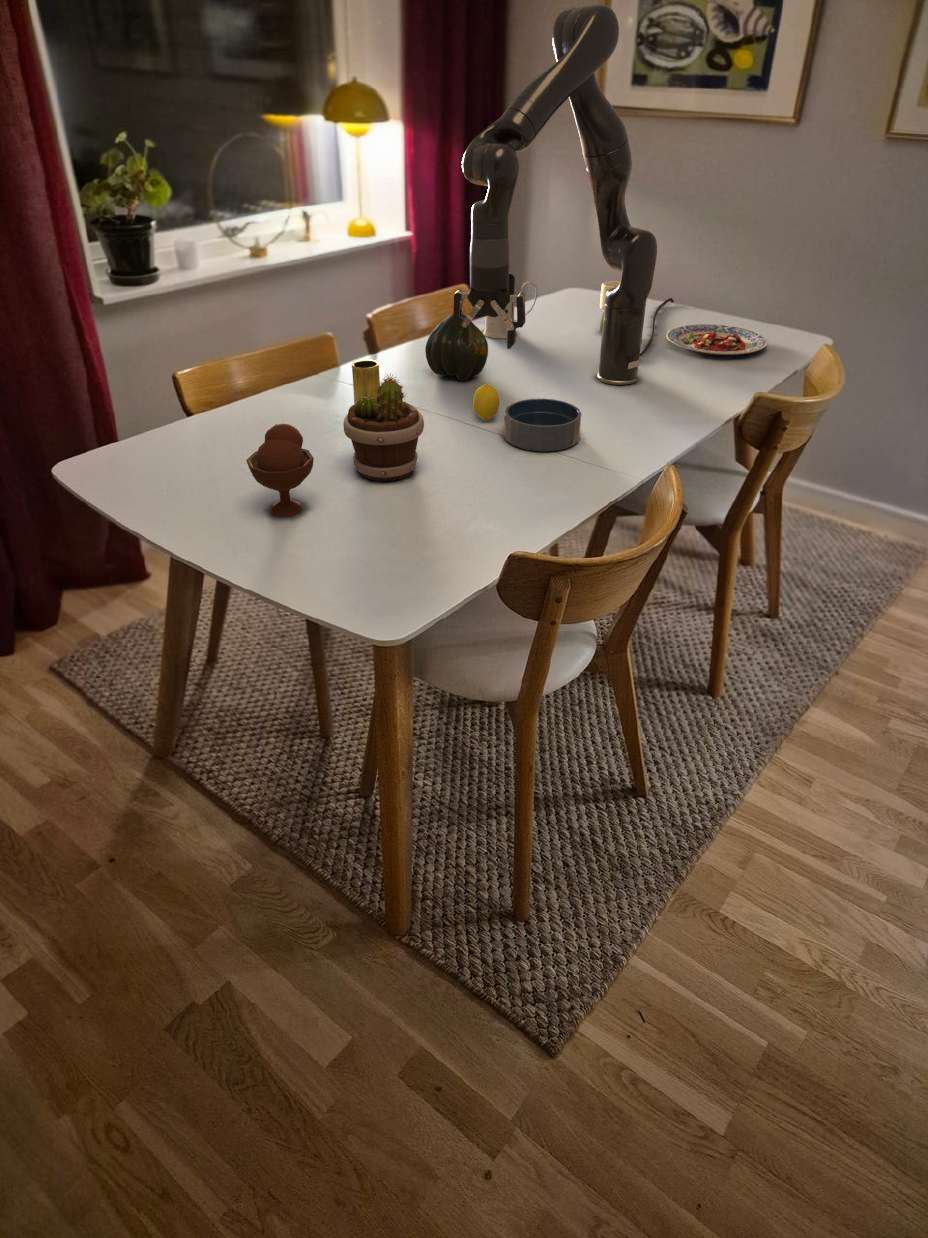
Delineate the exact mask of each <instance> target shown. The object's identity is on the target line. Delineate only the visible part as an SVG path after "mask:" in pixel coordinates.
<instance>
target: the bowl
mask: <svg viewBox="0 0 928 1238" xmlns="http://www.w3.org/2000/svg"><path fill="white" fill-rule="evenodd" d="M503 420H504V421H503V423H504V424H503V436H504V439H505V440H506V441H507V442H508V443H509V444H511V445H513V446H515V447H516V448H519V449H522V450H526V451H531V452H538V453H539V452H543V453H544V452H545V453H546V452H547V453H549V452H557V451H562V450H566V449H568V448H571V447H574V445H576V444H577V443H578V442H579V440H580V436H581V424H582V411H581V410H580V408H579V407H577V406H576V405H575V404H572V403H569V402H567V401H564V400H558V399H555V398H554V399H552V398H529V399H522V400H518V401H515V402H512V403H511V404H509V405H507V406H506V408H505V409H504V419H503Z"/></svg>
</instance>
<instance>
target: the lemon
mask: <svg viewBox="0 0 928 1238" xmlns="http://www.w3.org/2000/svg"><path fill="white" fill-rule="evenodd" d="M472 406H473V410H474V413H475V414H476V415H477V416H478V417H479V418H481V419H482V420H484V421H485V422H487V421H489V420H490V419H492V418H493V417H494V416H496V415H497V413H498V412H499V409H500V394H499V393H498V390H497V388H496V387H494V386H493V385H490V384H489V383H484V384H483V385H481V386H479V387H478V388H477V389H476V390H475V392H474V394H473V400H472Z"/></svg>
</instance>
